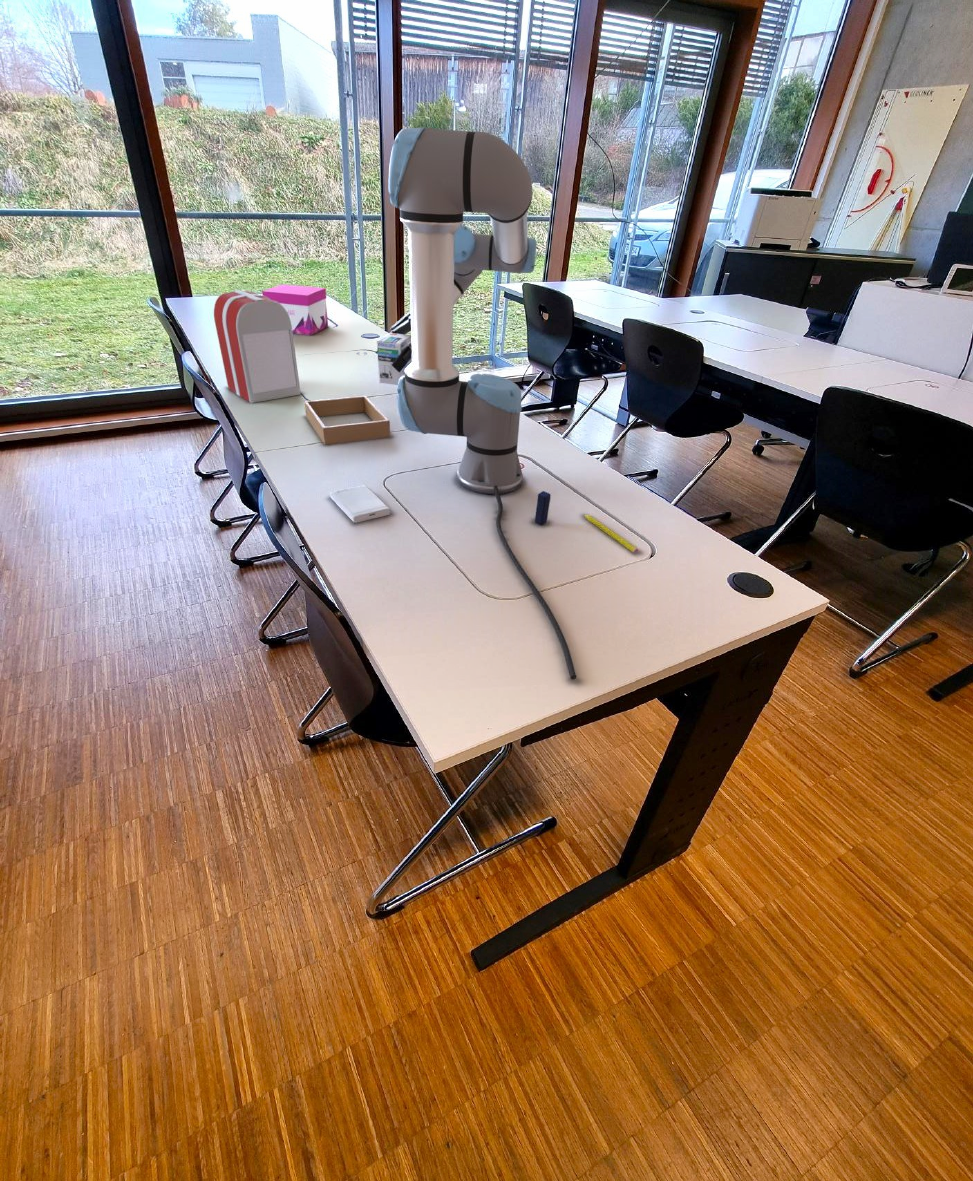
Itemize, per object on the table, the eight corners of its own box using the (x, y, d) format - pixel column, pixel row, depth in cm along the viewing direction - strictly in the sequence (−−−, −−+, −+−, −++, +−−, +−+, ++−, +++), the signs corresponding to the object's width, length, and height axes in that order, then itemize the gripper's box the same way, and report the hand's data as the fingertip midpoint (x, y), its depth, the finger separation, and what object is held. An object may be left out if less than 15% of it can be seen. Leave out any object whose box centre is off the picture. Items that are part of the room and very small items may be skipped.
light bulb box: (402, 386, 155) (401, 343, 148) (378, 383, 155) (375, 340, 149) (414, 375, 163) (413, 334, 157) (391, 372, 164) (389, 332, 158)
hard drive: (329, 491, 125) (353, 516, 117) (365, 484, 129) (390, 507, 121) (330, 498, 126) (353, 523, 118) (365, 490, 130) (390, 514, 122)
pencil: (637, 552, 115) (638, 548, 114) (633, 553, 115) (634, 549, 114) (585, 515, 126) (586, 511, 126) (582, 516, 126) (582, 512, 125)
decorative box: (268, 331, 242) (262, 291, 233) (288, 322, 258) (283, 284, 249) (311, 335, 240) (307, 295, 232) (329, 326, 256) (325, 288, 247)
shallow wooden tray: (390, 436, 156) (389, 420, 154) (324, 445, 149) (322, 428, 147) (366, 410, 172) (365, 395, 169) (306, 417, 165) (304, 401, 162)
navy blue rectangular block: (539, 519, 124) (543, 489, 120) (547, 522, 123) (551, 493, 119) (533, 522, 122) (536, 493, 118) (541, 526, 121) (545, 496, 117)
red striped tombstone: (250, 403, 171) (231, 302, 155) (226, 387, 181) (206, 291, 166) (302, 394, 180) (289, 298, 165) (276, 379, 191) (262, 287, 175)
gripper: (468, 318, 147) (413, 384, 150) (431, 299, 164) (382, 359, 167) (449, 295, 141) (392, 364, 144) (413, 279, 159) (363, 341, 162)
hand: (387, 362), depth 156 cm, fingers closed on light bulb box, 12 cm apart
